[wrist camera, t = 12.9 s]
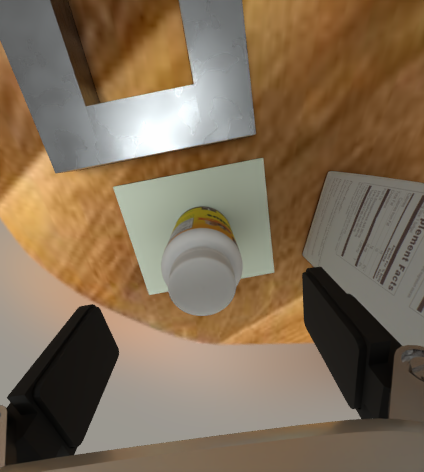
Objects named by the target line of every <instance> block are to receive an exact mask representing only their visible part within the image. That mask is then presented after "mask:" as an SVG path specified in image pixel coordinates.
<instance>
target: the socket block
mask: <svg viewBox="0 0 424 472" xmlns="http://www.w3.org/2000/svg"><path fill="white" fill-rule="evenodd" d="M178 1H179V7H180V12H181V18H182V23H183V29H184V34H185V40H186V45H187V51H188V56H189V62H190V67H191V73H192V78H193V84H192V85H188V86H183V87H178V88H173V89H168V90H163V91H158V92H154V93H149V94H144V95H139V96H134V97H129V98H124V99H119V100H115V101H110V102H105V103H100V102H99V99H98V96H97V93H96V89H95V86H94V83H93V80H92V77H91V74H90V70H89V67H88V64H87V61H86V58H85V54H84V51H83V48H82V45H81V42H80V39H79V35H78V32H77V29H76V26H75V23H74V20H73V16H72V13H71V10H70V7H69V4H68V0H0V41H1V43H2V45H3V48H4V50H5V53H6V55H7V57H8V60H9V62H10V65H11V67H12V69H13V72H14V74H15V77H16V79H17V81H18V84H19V86H20V89H21V91H22V93H23V96H24V98H25V101H26V103H27V106H28V108H29V110H30V113H31V115H32V118H33V120H34V122H35V125H36V127H37V130H38V132H39V134H40V137H41V139H42V142H43V144H44V146H45V149H46V151H47V154H48V156H49V158H50V161H51V163H52V166H53V168H54V171H55V173H62V172H70V171H77V170H82V169H88V168H93V167H98V166H103V165H108V164H113V163H118V162H123V161H128V160H133V159H138V158H143V157H148V156H153V155H159V154H164V153H169V152H174V151H179V150H184V149H189V148H194V147H199V146H204V145H209V144H214V143H219V142H224V141H229V140H235V139H240V138H245V137H249V136H252V135H254V134H256V130H255V121H254V111H253V101H252V92H251V82H250V73H249V63H248V53H247V44H246V34H245V25H244V15H243V6H242V0H178Z"/></svg>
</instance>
